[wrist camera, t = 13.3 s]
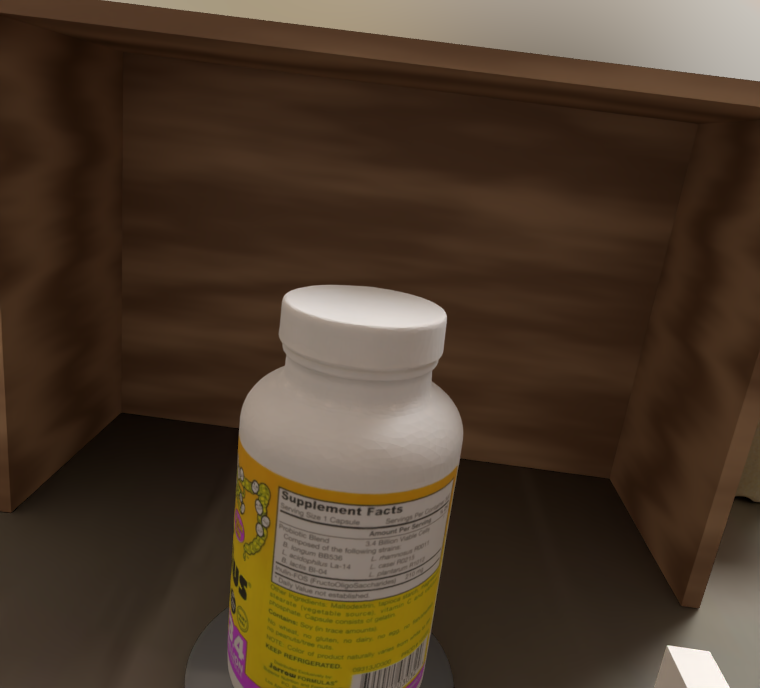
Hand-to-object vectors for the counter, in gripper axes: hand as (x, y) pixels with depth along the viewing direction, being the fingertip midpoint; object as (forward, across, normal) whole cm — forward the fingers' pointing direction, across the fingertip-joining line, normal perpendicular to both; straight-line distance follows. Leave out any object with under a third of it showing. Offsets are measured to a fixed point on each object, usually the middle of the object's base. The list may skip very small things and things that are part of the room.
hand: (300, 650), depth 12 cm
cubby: (+21, 0, -9) cm, 23 cm away
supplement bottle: (+8, 0, -8) cm, 12 cm away
